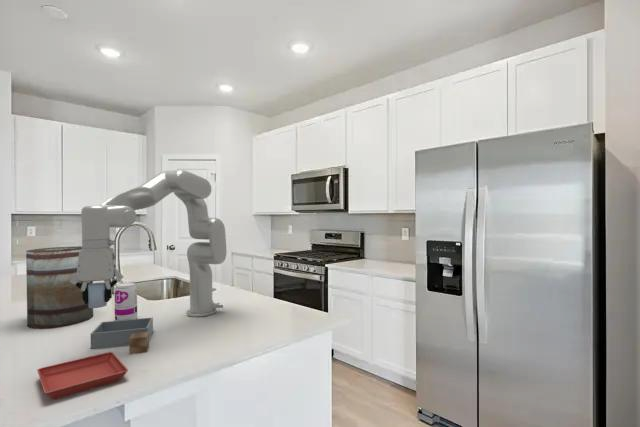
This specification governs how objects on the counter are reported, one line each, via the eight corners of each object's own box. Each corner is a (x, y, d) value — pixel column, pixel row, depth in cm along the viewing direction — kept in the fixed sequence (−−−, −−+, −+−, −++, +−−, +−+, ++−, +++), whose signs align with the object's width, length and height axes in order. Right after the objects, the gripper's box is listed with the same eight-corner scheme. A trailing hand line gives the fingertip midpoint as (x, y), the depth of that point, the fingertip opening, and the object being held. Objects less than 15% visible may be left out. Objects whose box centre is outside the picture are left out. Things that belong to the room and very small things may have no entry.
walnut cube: (148, 346, 120) (148, 331, 120) (146, 352, 115) (146, 336, 115) (132, 348, 118) (132, 333, 118) (129, 354, 114) (129, 338, 114)
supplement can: (127, 323, 145) (127, 286, 145) (110, 322, 146) (109, 286, 146) (141, 317, 153) (141, 282, 153) (124, 316, 154) (124, 282, 154)
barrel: (105, 314, 158) (104, 246, 158) (57, 331, 136) (56, 252, 136) (65, 311, 164) (64, 246, 164) (12, 326, 142) (11, 251, 142)
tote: (153, 330, 136) (152, 317, 136) (147, 342, 123) (147, 328, 123) (101, 335, 131) (101, 322, 131) (90, 348, 118) (90, 333, 118)
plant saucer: (112, 361, 109) (112, 350, 109) (129, 381, 96) (129, 369, 96) (36, 380, 97) (36, 368, 97) (44, 407, 84) (44, 393, 84)
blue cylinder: (108, 303, 116) (108, 281, 116) (104, 307, 112) (104, 285, 111) (90, 304, 115) (90, 283, 115) (86, 308, 110) (85, 286, 110)
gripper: (128, 242, 119) (129, 296, 119) (69, 244, 114) (70, 301, 114) (123, 244, 112) (125, 302, 112) (60, 247, 107) (61, 307, 107)
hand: (97, 301), depth 113 cm, fingers closed on blue cylinder, 5 cm apart
